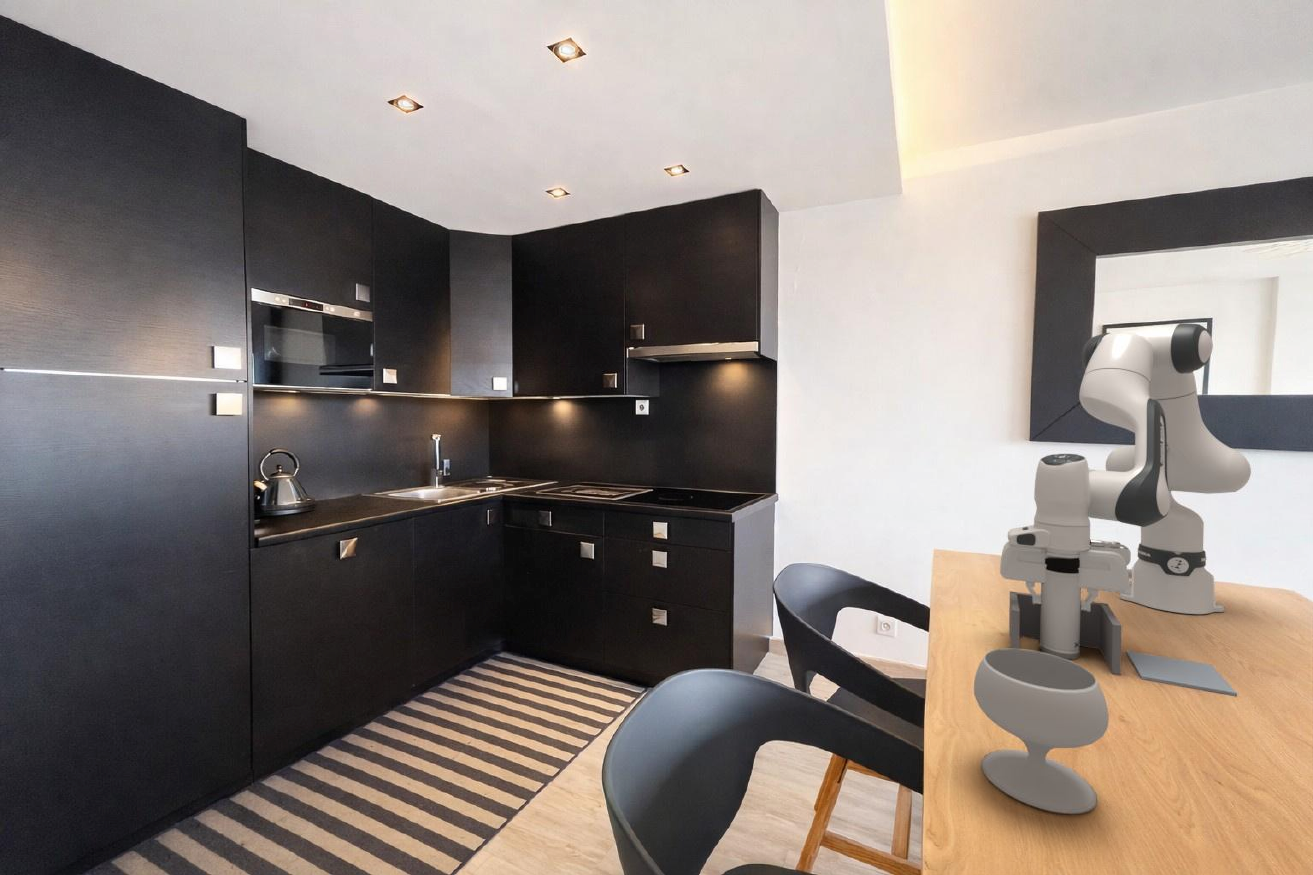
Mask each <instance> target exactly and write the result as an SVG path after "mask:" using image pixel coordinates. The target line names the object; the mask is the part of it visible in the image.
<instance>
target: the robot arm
mask: <svg viewBox="0 0 1313 875" xmlns="http://www.w3.org/2000/svg"><path fill="white" fill-rule="evenodd" d="M1213 349H1214V347H1213V339H1212V337H1211V334H1210V332H1209V330H1208V329H1207V328H1206V327H1204V326H1203V325H1201V324H1200V323H1199V324H1198V323H1179V324H1170V325H1169V324H1166V325H1164V324H1163V325H1149V326H1141V327H1138V328H1131V329H1127V330H1121V331H1120V330H1119V331H1116V332H1111V333H1110V332H1104V333H1102V334H1097V335H1095V336H1092V337H1091V338H1090V339H1088V340H1087V342H1086V343H1085V344H1084V345H1083V348H1082V353H1081V363H1082V367H1083V369H1084V370H1085V371H1084V373H1083V378H1082V380H1081V384H1080V387H1079V395H1078V396H1079V397H1078V398H1079V402H1080V405H1081V406H1082V408H1083V410H1084V411H1086V413H1088V414H1089V415H1090V416H1092V417H1094V418H1095V419H1097V420H1099V421H1101V422H1103V423H1105V424H1109V425H1113V426H1116V427H1119V428H1123V429H1125V430H1128V431H1129V432H1132V433H1134V435H1135V436H1134V443H1135V444H1134V445H1128V446H1127V445H1126V446H1121V447H1116V448H1115V449H1113V450H1112V451H1111V452H1110V453H1109V454H1108V456H1107V457H1106V460H1105V470H1097V469H1096V470H1095V469H1091V468H1090V467H1089V464H1088V460H1087V458H1086V457H1085V456H1083V455H1079V454H1078V453H1077V454H1076V453H1057V454H1049V455H1045V456H1044V457H1041V458H1040V459H1039V461H1038V464H1037V467H1036V468H1037V469H1036V473H1035V480H1034V490H1033V491H1034V496H1033V497H1034V498H1033V499H1034V503H1035V506H1036V511H1035V515H1034V518H1033V524H1032V525H1025V526H1020V527H1015V528H1011V529H1009V530H1008V532H1007V539H1008V540H1007V542H1006V543H1005V544H1004V545H1003V548H1002V551H1001V552H1002V553H1001V556H1000V563H999V574H1000V575H1001V577H1002V578H1003V579H1005V580H1013V581H1020V582H1021V581H1022V582H1025V587H1026V588H1027V590H1028V591H1029V594H1031V595H1032V604H1037V605H1041V604H1042V602H1041V600H1042V597H1041V593H1036V591H1035V590H1034V588H1035V587H1036V585H1035V584H1036V583H1039V584H1041V583H1045V580H1046V573H1047V572H1046V566H1047V565H1046V564H1045V558H1046V559H1048V558H1058V559H1076V558H1079V560H1080V568H1078V570H1079V576H1078V577H1079V588H1081V589H1086V592H1087V593H1088V595H1087V596H1086V598H1085V599H1081V607H1080V610H1081V611H1087V612H1090V608H1091V603H1092V602H1094V601H1095V600H1096V599H1097V598H1098V596H1099V591H1103V592H1113V593H1119V598H1120V600H1124V601H1127V602H1132V603H1136V604H1139V605H1142V606H1144V607H1149V608H1152V609H1157V610H1161V611H1167V612H1172V613H1178V614H1187V615H1188V614H1189V615H1207V614H1210V613H1222V612H1223V613H1224V612H1225V607H1224V606H1223V605H1222V604H1219V603H1217V602H1216V590H1215V589H1216V587H1215V577H1214V575H1213V574H1212V573H1211V572H1209V571H1208V570H1207V569H1206V568H1205V567H1206V565H1207V562H1206V561H1207V556H1206V555H1207V554H1206V551H1205V550H1204V532H1205V531H1204V529H1205V528H1204V527H1205V524H1204V521H1203V518H1202V517H1201V515H1200V514H1199V513H1197V512H1196V511H1194V510H1192V508H1189V507H1187V506H1185V505H1182V504H1180V503H1178V501H1176V500H1175V498H1174V496H1173V495H1172V492H1182V493H1183V492H1184V493H1195V494H1205V495H1207V494H1209V495H1210V494H1225V493H1236V492H1238V491H1239V490H1241V489H1243V488H1244V487H1245V486H1246V485H1247V483H1248V482H1249V480H1250V478H1251V473H1252V470H1251V464H1250V462H1249V461H1248V459H1247V458H1246V457H1245V456H1244V454H1242V453H1241V452H1239V451H1237V450H1236V449H1234V448H1231V447H1229V446H1228V445H1226V444H1225V443H1223V442H1221V441H1220V440H1219V439H1218V438H1216V437H1215V435H1213V434H1212V433H1211V432H1210V430H1208V428H1207V426H1206V425H1205V423H1204V421H1203V419H1202V418H1203V417H1202V414H1201V410H1200V406H1199V399H1198V392H1197V390H1198V388H1197V384H1196V378H1195V374H1194V373H1195V371H1198V370H1200V369H1202V368H1203V367H1204V366H1206V364H1208V362H1210V358H1211V355H1212V353H1213ZM1090 519H1097V520H1104V521H1106V520H1107V521H1112V522H1113V521H1114V522H1120V523H1122V524H1127V525H1131V526H1137V527H1140V542H1139V544H1138V548H1137V558H1138V559H1137V560H1136V561H1135V563H1134V564H1133V565H1132V567H1131V568H1130V569H1129V568H1127V566H1129V564H1130V563H1131V560H1132V559H1131V550H1130V549H1129V548H1128V546H1126V545H1124V544H1121V543H1120V542H1119V541H1104V540H1099V539H1098V540H1097V539H1091V521H1090Z"/></svg>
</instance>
